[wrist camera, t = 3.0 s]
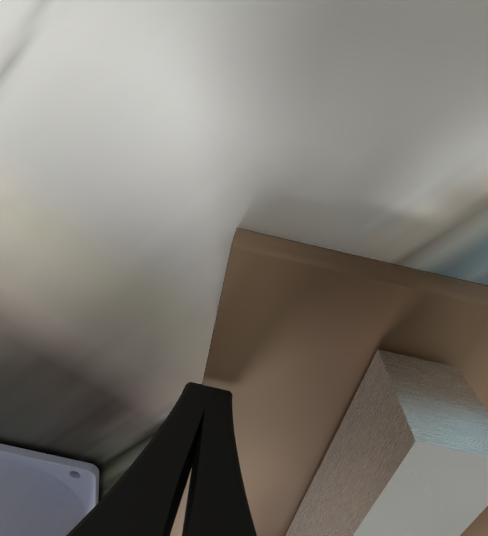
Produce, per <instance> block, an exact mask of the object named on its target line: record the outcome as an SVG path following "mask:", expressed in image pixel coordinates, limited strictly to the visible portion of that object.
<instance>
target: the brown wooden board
mask: <svg viewBox="0 0 488 536" xmlns="http://www.w3.org/2000/svg"><path fill="white" fill-rule="evenodd" d="M378 349H379V350H383V351H388V352H392V353H396V354H401V355H405V356H410V357H414V358H418V359H423V360H427V361H432V362H436V363H440V364H445V365H449V366H454V367H458V369H459V370H460V372H461V373H462V375H463V376H464V378H465V379H466V381H467V382H468V383H469V385H470V386H471V388H472V389H473V391H474V392H475V394H476V395H477V397H478V398H479V400H480V401H481V402H482V404H483V405H484V407H485V408H486V410H487V411H488V286H485V285H481V284H476V283H472V282H468V281H463V280H459V279H455V278H450V277H446V276H442V275H437V274H433V273H429V272H424V271H420V270H416V269H411V268H407V267H403V266H398V265H394V264H390V263H385V262H381V261H377V260H372V259H368V258H364V257H359V256H355V255H351V254H346V253H342V252H338V251H333V250H329V249H325V248H320V247H316V246H312V245H307V244H303V243H299V242H294V241H290V240H286V239H281V238H277V237H273V236H268V235H264V234H260V233H255V232H251V231H247V230H242V229H238V228H237V230H236V233H235V236H234V239H233V242H232V245H231V249H230V254H229V259H228V264H227V269H226V273H225V278H224V283H223V288H222V292H221V297H220V302H219V307H218V311H217V316H216V321H215V326H214V330H213V335H212V340H211V345H210V349H209V354H208V359H207V364H206V368H205V373H204V378H203V383H202V385H205V386H210V387H214V388H219V389H223V390H228V391H230V392H231V393H232V395H233V396H232V411H233V424H234V433H235V440H236V447H237V452H238V458H239V464H240V469H241V474H242V479H243V483H244V488H245V492H246V496H247V501H248V505H249V508H250V512H251V516H252V520H253V523H254V527H255V530H256V534H257V536H285V535H286V533H287V531H288V529H289V527H290V525H291V523H292V521H293V519H294V517H295V515H296V513H297V511H298V509H299V507H300V505H301V503H302V501H303V499H304V497H305V495H306V493H307V491H308V489H309V487H310V485H311V483H312V481H313V479H314V477H315V475H316V473H317V471H318V469H319V467H320V465H321V463H322V461H323V459H324V457H325V455H326V452H327V450H328V448H329V446H330V444H331V442H332V440H333V438H334V436H335V434H336V432H337V430H338V428H339V426H340V424H341V422H342V420H343V418H344V416H345V414H346V412H347V410H348V408H349V406H350V404H351V402H352V400H353V398H354V396H355V394H356V392H357V390H358V388H359V386H360V384H361V382H362V380H363V378H364V376H365V374H366V372H367V370H368V368H369V366H370V364H371V362H372V360H373V358H374V356H375V354H376V352H377V350H378ZM191 470H192V468H191ZM190 476H191V471H190V474H189V478H188V481H187V484H186V487H185V490H184V493H183V496H182V499H181V503H180V506H179V509H178V512H177V515H176V518H175V521H174V524H173V527H172V531H171V535H170V536H182V531H183V524H184V517H185V510H186V503H187V497H188V490H189V483H190ZM460 536H488V506H487V507H486V508H485V509H484V510H483V511H482V512H481V513H480V514H479V515H478V517H477V518H476V519H475V520H474V521H473V522H472V523H471V524H470V525H469V526H468V527H467V528H466V529H465V531H464V532H463V533H462V534H461V535H460Z"/></svg>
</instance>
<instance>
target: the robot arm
mask: <svg viewBox="0 0 488 536" xmlns="http://www.w3.org/2000/svg"><path fill="white" fill-rule="evenodd" d="M232 396H233V395H232V393H231V392H230V391H228V390H223V389H219V388H214V387H210V386H205V385H201V384H196V383H192V382H190V383H188V384H186V386H185V388H184V390H183V392H182V394H181V396H180V398H179V400H178V401H177V403H176V405H175V406H174V408H173V409H172V411H171V412H170V414H169V416H168V417H167V419H166V420H165V421H164V423H163V424H162V426H161V427H160V428H159V430H158V431H157V433H156V434H155V435H154V437H153V438H152V440H151V441H150V442H149V444H148V445H147V446H146V447H145V449H144V450H143V451H142V452H141V454H140V455H139V456H138V457H137V459H136V460H135V461H134V462H133V464H132V465H131V466H130V467H129V469H128V470H127V471H126V472H125V473H124V474H123V476H122V477H121V478H120V479H119V480H118V481H117V483H116V484H115V485H114V486H113V487H112V488H111V489H110V490H109V492H108V493H107V494H106V495H105V496H104V497H103V498H102V499H101V500H100V501H99V502H98V499H99V469H98V468H97V467H96V466H95V465H93V464H91V463H87V462H83V461H78V460H73V459H69V458H64V457H60V456H55V455H51V454H46V453H41V452H37V451H32V450H28V449H23V448H19V447H14V446H10V445H5V444H0V536H170V534H171V531H172V527H173V524H174V521H175V518H176V515H177V512H178V509H179V506H180V503H181V499H182V496H183V493H184V490H185V487H186V484H187V481H188V478H189V474H190V471H191V476H190V483H189V490H188V497H187V503H186V510H185V517H184V524H183V531H182V536H257V534H256V530H255V527H254V523H253V520H252V516H251V512H250V508H249V505H248V501H247V496H246V492H245V488H244V483H243V479H242V474H241V469H240V464H239V458H238V452H237V447H236V440H235V433H234V424H233V411H232ZM191 468H192V470H191Z"/></svg>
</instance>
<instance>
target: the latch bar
mask: <svg viewBox="0 0 488 536" xmlns="http://www.w3.org/2000/svg"><path fill="white" fill-rule="evenodd" d="M487 506H488V411H487V410H486V408H485V407H484V405H483V404H482V402H481V401H480V400H479V398H478V397H477V395H476V394H475V392H474V391H473V389H472V388H471V386H470V385H469V383H468V382H467V381H466V379H465V378H464V376H463V375H462V373H461V372H460V370H459V369H458V367H454V366H449V365H445V364H440V363H436V362H432V361H427V360H423V359H418V358H414V357H410V356H405V355H401V354H396V353H392V352H388V351H383V350H379V349H378V350H377V352H376V354H375V356H374V358H373V360H372V362H371V364H370V366H369V368H368V370H367V372H366V374H365V376H364V378H363V380H362V382H361V384H360V386H359V388H358V390H357V392H356V394H355V396H354V398H353V400H352V402H351V404H350V406H349V408H348V410H347V412H346V414H345V416H344V418H343V420H342V422H341V424H340V426H339V428H338V430H337V432H336V434H335V436H334V438H333V440H332V442H331V444H330V446H329V448H328V450H327V452H326V455H325V457H324V459H323V461H322V463H321V465H320V467H319V469H318V471H317V473H316V475H315V477H314V479H313V481H312V483H311V485H310V487H309V489H308V491H307V493H306V495H305V497H304V499H303V501H302V503H301V505H300V507H299V509H298V511H297V513H296V515H295V517H294V519H293V521H292V523H291V525H290V527H289V529H288V531H287V533H286V535H285V536H460V535H461V534H462V533H463V532H464V531H465V529H466V528H467V527H468V526H469V525H470V524H471V523H472V522H473V521H474V520H475V519H476V518H477V517H478V515H479V514H480V513H481V512H482V511H483V510H484V509H485V508H486V507H487Z"/></svg>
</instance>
